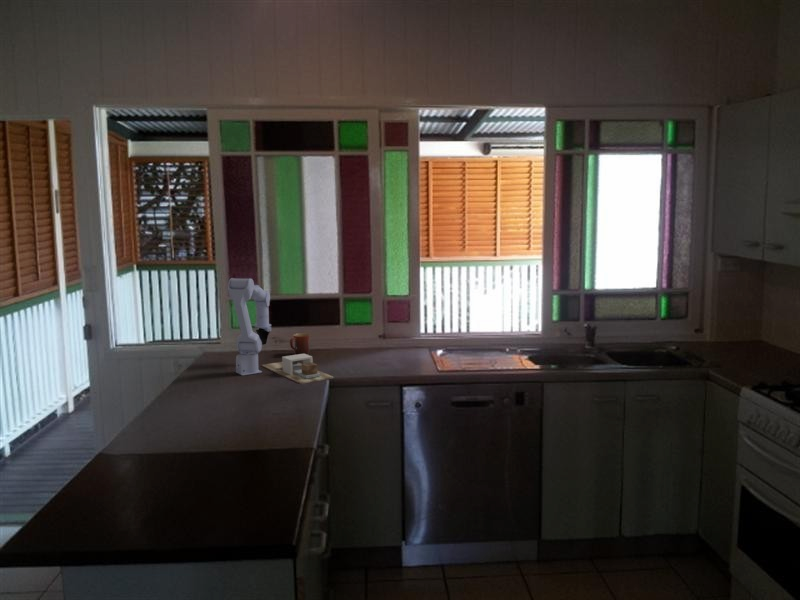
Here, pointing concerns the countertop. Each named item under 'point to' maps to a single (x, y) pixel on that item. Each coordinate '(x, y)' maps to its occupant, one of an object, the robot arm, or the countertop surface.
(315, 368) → the walnut block
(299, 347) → the mug
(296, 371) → the sled
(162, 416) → the countertop surface
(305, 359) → the tunnel
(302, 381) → the beige flat rectangular board
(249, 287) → the robot arm
